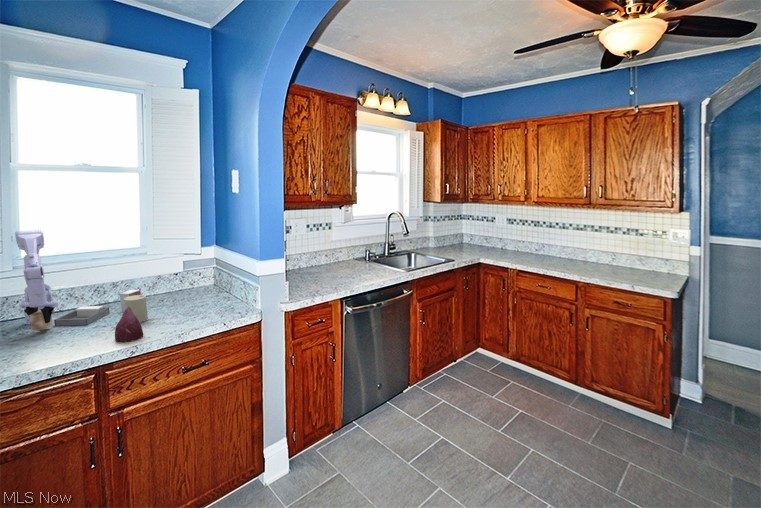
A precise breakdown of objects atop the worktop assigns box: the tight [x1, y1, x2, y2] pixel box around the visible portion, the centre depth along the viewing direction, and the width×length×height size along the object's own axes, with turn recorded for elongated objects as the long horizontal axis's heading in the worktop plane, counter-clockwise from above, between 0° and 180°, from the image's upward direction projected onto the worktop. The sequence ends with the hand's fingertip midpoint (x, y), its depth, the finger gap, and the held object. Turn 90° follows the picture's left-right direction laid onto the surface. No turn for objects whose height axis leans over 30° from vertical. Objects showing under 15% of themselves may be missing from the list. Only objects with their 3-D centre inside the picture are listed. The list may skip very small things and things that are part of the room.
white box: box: [74, 305, 105, 317], centre depth 198 cm, size 10×5×4 cm, turn 95°
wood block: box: [30, 311, 54, 331], centre depth 177 cm, size 4×6×7 cm
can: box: [124, 294, 149, 323], centre depth 193 cm, size 9×9×12 cm
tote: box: [53, 306, 110, 327], centre depth 193 cm, size 14×18×4 cm
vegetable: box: [114, 306, 144, 344], centre depth 172 cm, size 10×10×15 cm
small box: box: [119, 289, 142, 313], centre depth 207 cm, size 8×6×10 cm
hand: (41, 322), depth 177 cm, fingers closed on wood block, 4 cm apart
